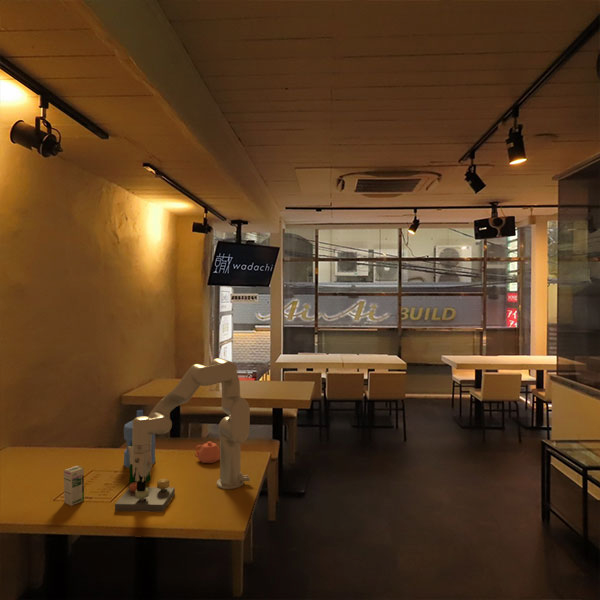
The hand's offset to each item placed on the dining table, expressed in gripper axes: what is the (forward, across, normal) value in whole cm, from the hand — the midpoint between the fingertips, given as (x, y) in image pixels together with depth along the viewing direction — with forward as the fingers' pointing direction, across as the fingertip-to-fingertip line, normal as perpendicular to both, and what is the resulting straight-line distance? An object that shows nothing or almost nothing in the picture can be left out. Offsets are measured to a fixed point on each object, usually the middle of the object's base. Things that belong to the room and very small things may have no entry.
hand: (141, 490), depth 185 cm
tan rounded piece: (+5, +9, -6) cm, 12 cm away
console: (+7, +5, 0) cm, 9 cm away
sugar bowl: (+7, +52, -16) cm, 55 cm away
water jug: (+7, +47, +19) cm, 51 cm away
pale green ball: (+5, 0, 0) cm, 5 cm away
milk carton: (+7, +24, +10) cm, 27 cm away
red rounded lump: (+6, +9, +6) cm, 13 cm away
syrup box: (+8, +4, +31) cm, 32 cm away
